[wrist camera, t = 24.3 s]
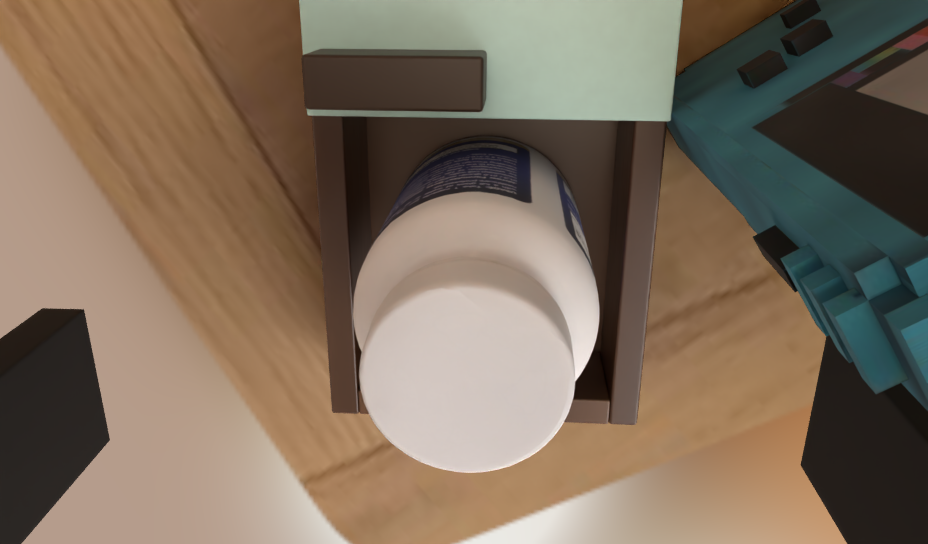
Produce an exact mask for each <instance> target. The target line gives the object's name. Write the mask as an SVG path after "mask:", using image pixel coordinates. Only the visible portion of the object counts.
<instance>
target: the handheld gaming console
mask: <svg viewBox="0 0 928 544" xmlns="http://www.w3.org/2000/svg"><path fill="white" fill-rule="evenodd" d="M684 71H685V72H684V73H682V74H680V75H679V76H677V77H675V85H674V95H673V105H672V115H671V120H670V121H667V127H668V129H669V131H670V132H671V134H672V136H673V138H674V140H675V141H676V143H677V145H678V147H679V148H680V149H681V150H682V151H683V152H684V153H685V154H686V155H687V156H688V158H689V159H690V160H691V161H692V162H693V163H694V164H695V165H696V166H697V167H698V168H699V169H700V170H701V171H702V172H703V173H704V175H705V176H706V177H707V178H708V179H709V180H710V181H711V182H712V183H713V184H714V185H715V186H716V187H717V188H718V189H719V190H720V191H721V193H722V194H723V195H724V196H725V197H726V198H727V199H728V200H729V201H730V202H731V203H732V204H733V205H734V206H735V207H736V208H737V209H738V211H739V212H740V213H741V214H742V215H743V216H744V217H745V219H746V220H747V222H748V224H749V225H750V226H751V228H752V229H753V230H754V231H755V232H756V233H757V235H755V236H753V238H754V240H755V242H756V244H757V245H758V247H759V249H760V251H761V253H762V255H763V256H764V257H765V258H766V260H767V261H768V262H769V263H770V264H771V265H772V266H773V268H774V269H775V270H776V271H777V272H778V273H779V274H780V276H781V277H782V278H783V279H784V280H785V281H786V282H787V284H788V285H789V286H790V287H791V288H792V289H793V290H794V292H797V291H798V292H799V294H800V296H801V297H802V299H803V301H804V303H805V305H806V307H807V308H808V310H809V312H810V314H811V316H812V318H813V320H814V321H815V323H816V325H817V326H818V327H819V328H820V330H821V331H822V332H823V333H824V334H825V335H826V336H828V335H830V336H831V338H832V340H833V342H834V344H835V346H836V347H837V349H838V351H839V352H840V353H841V354H842V355H843V356H844V358H845V359H846V360H847V361H848V362H849V363H851V362H854V364H855V366H856V367H857V369H858V371H859V373H860V375H861V377H862V379H863V380H864V381H865V382H866V383H867V384H868V386H869V387H870V388H871V389H872V390H873V391H874V393H875V394H878V393H880V392H882V391H884V390H887V389H889V388H891V387H893V386H895V385H898V384H900V383H902V384H903V385H904V386H905V388H906V389H907V390H908V391H909V392H910V393H911V394H912V395H913V396H914V397H915V398H916V399H917V400H918V401H919V402H920V403H921V405H922V406H923V407H924V408H925V409H926V410H927V411H928V0H796V1H795V2H793V3H791V4H790V5H788V6H786V7H785V8H783V9H781V10H780V11H778V12H777V13H775V14H773V15H772V16H770V17H768V18H767V19H765V20H763V21H762V22H760V23H759V24H757V25H755V26H754V27H752V28H750V29H749V30H747V31H746V32H744V33H742V34H741V35H739V36H737V37H736V38H734V39H732V40H731V41H729V42H728V43H726V44H724V45H723V46H721V47H719V48H718V49H716V50H714V51H713V52H711V53H710V54H708V55H706V56H705V57H703V58H701V59H700V60H698V61H696V62H695V63H693V64H692V65H690V66H688V67H687V68H685V69H684Z"/></svg>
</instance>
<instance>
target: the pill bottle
mask: <svg viewBox="0 0 928 544" xmlns="http://www.w3.org/2000/svg"><path fill="white" fill-rule="evenodd" d="M353 319H354V327H355V333H356V337H357V340H358V344H359V347H360V349H361V352H362V353H361V359H360V366H359V380H360V389H361V393H362V397H363V400H364V403H365V406H366V408H367V410H368V413H369V415H370V417H371V418H372V420H373V422H374V423H375V425H376V427H377V428H378V429H379V430H380V431H381V433H382V434H383V435H384V436H385V437H386V438H387V439H388V440H389V441H390V442H391V443H392V444H393V445H395V446H396V447H397V448H398V449H400V450H401V451H402V452H404V453H405V454H407V455H409V456H410V457H412V458H414V459H416V460H418V461H420V462H422V463H425V464H427V465H430V466H433V467H436V468H439V469H444V470H449V471H455V472H466V473H474V472H487V471H493V470H498V469H502V468H505V467H509V466H511V465H514V464H516V463H518V462H521V461H522V460H524V459H526V458H528V457H530V456H532V455H533V454H534V453H536V452H538V451H539V450H540V449H541V448H542V447H544V446H545V445H546V444H547V443H548V442H549V441H550V440H551V439H552V438H553V437H554V436H555V434H556V433H557V432H558V430H559V429H560V427H561V426H562V424H563V422H564V421H565V419H566V417H567V415H568V413H569V410H570V407H571V404H572V400H573V397H574V391H575V381H576V380H577V379H578V377H579V376H580V375H581V373H582V371H583V370H584V368H585V366H586V364H587V362H588V361H589V358H590V356H591V353H592V351H593V349H594V345H595V342H596V338H597V333H598V327H599V298H598V291H597V286H596V280H595V275H594V271H593V268H592V264H591V260H590V256H589V252H588V248H587V244H586V240H585V236H584V232H583V228H582V224H581V220H580V216H579V212H578V208H577V205H576V202H575V199H574V196H573V194H572V192H571V190H570V188H569V186H568V184H567V182H566V180H565V179H564V177H563V176H562V174H561V173H560V172H559V170H558V169H557V168H556V167H555V166H554V165H553V164H552V163H551V162H550V161H549V160H548V159H547V158H546V157H545V156H543V155H542V154H541V153H539V152H538V151H536V150H534V149H533V148H531V147H529V146H527V145H524V144H522V143H519V142H517V141H514V140H510V139H506V138H502V137H493V136H477V137H470V138H465V139H461V140H457V141H455V142H452V143H449V144H447V145H445V146H443V147H441V148H440V149H438V150H436V151H435V152H433V153H432V154H431V155H429V156H428V157H427V158H426V159H425V160H423V161H422V162H421V163H420V164H419V166H418V167H417V168H416V169H415V170H414V172H413V173H412V174H411V176H410V177H409V178H408V180H407V181H406V183H405V185H404V187H403V188H402V190H401V193H400V194H399V196H398V198H397V200H396V202H395V204H394V206H393V208H392V209H391V211H390V213H389V215H388V217H387V219H386V220H385V222H384V224H383V226H382V228H381V230H380V231H379V233H378V235H377V237H376V238H375V240H374V242H373V244H372V245H371V247H370V249H369V251H368V253H367V256H366V259H365V261H364V263H363V265H362V268H361V270H360V273H359V276H358V279H357V283H356V288H355V293H354V305H353Z"/></svg>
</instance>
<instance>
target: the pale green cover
mask: <svg viewBox="0 0 928 544" xmlns="http://www.w3.org/2000/svg"><path fill="white" fill-rule="evenodd" d="M299 6H300V20H301V34H302V48H303V55H302V58H301V59H302V73H303V87H304V101H305V107H306V109H307V115H309V116H361V117H424V118H487V119H550V120H613V121H670V120H671V115H672V105H673V95H674V85H675V75H676V65H677V56H678V46H679V36H680V26H681V16H682V6H683V0H299Z"/></svg>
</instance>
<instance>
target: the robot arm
mask: <svg viewBox="0 0 928 544" xmlns="http://www.w3.org/2000/svg"><path fill="white" fill-rule="evenodd" d="M109 440H110V439H109V434H108V428H107V424H106V418H105V413H104V408H103V403H102V398H101V393H100V388H99V383H98V378H97V373H96V368H95V363H94V358H93V353H92V348H91V343H90V338H89V333H88V328H87V323H86V318H85V313H84V310H81V309H45V308H43V309H41V310H40V311H38V312H37V313H35V314H34V315H33V316H31V317H30V318H28V319H27V320H26V321H24V322H23V323H21V324H20V325H19V326H18V327H16V328H15V329H13V330H12V331H10V332H9V333H8V334H6V335H5V336H3V337H2V338H1V339H0V544H21V543H22V542H23V541H24V540H25V539H26V537H27V536H28V535H29V534H30V533H31V532H32V531H33V529H34V528H35V527H36V526H37V525H38V523H39V522H40V521H41V520H42V519H43V518H44V516H45V515H46V514H47V513H48V512H49V511H50V509H51V508H52V507H53V506H54V505H55V504H56V502H57V501H58V500H59V499H60V498H61V497H62V495H63V494H64V493H65V492H66V491H67V489H68V488H69V487H70V486H71V485H72V484H73V483H74V481H75V480H76V479H77V478H78V476H79V475H80V474H81V473H82V472H83V471H84V470H85V468H86V467H87V466H88V465H89V464H90V463H91V461H92V460H93V459H94V458H95V457H96V456H97V454H98V453H99V452H100V451H101V450H102V449H103V447H104V446H105V445H106V444H107V443H108V442H109ZM801 466H802V468H803V470H804V471H805V473H806V475H807V476H808V478H809V480H810V482H811V483H812V485H813V487H814V488H815V490H816V492H817V493H818V495H819V497H820V498H821V500H822V502H823V503H824V505H825V507H826V509H827V510H828V512H829V514H830V515H831V517H832V519H833V520H834V522H835V524H836V525H837V527H838V529H839V531H840V532H841V534H842V536H843V537H844V539H845V540H846V542H847V544H928V411H927V410H926V409H925V408H924V407H923V406H922V405H921V403H920V402H919V401H918V400H917V399H916V398H915V397H914V396H913V395H912V394H911V393H910V392H909V391H908V390H907V389H906V388H905V386H904V385H903V384H902V383H900V384H898V385H895V386H893V387H891V388H889V389H887V390H884V391H882V392H880V393H878V394H875V393H874V391H873V390H872V389H871V388H870V387H869V386H868V384H867V383H866V382H865V381H864V380H863V379H862V377H861V375H860V373H859V371H858V369H857V367H856V366H855V364H854V362H851V363H849V362H848V361H847V360H846V359H845V358H844V356H843V355H842V354H841V353H840V352H839V351H838V349H837V347H836V346H835V344H834V342H833V340H832V338H831V336H830V335H828V336H827V337H826V342H825V347H824V352H823V357H822V362H821V367H820V372H819V377H818V382H817V387H816V392H815V397H814V401H813V406H812V411H811V416H810V421H809V427H808V432H807V436H806V441H805V446H804V451H803V456H802V461H801Z"/></svg>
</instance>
